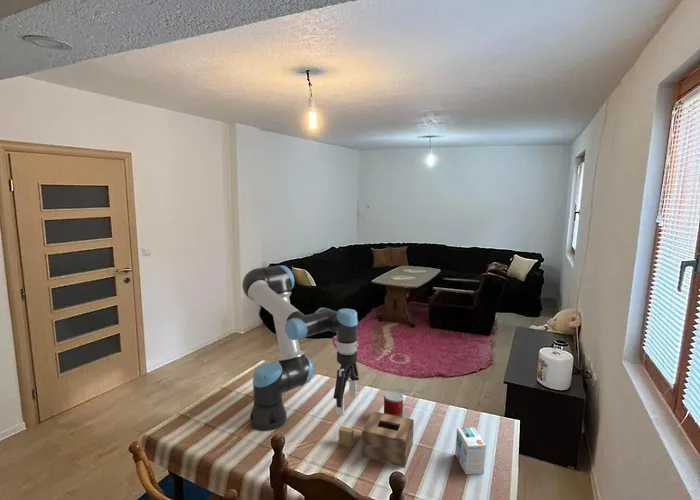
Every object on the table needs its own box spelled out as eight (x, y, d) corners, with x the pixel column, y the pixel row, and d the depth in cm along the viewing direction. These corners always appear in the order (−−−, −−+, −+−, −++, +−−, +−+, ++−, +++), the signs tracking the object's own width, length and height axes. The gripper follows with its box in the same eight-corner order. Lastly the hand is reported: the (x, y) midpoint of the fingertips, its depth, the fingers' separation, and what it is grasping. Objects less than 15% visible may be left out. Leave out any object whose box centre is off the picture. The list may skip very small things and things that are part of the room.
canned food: (401, 426, 161) (402, 401, 160) (382, 424, 163) (383, 399, 161) (403, 416, 169) (403, 392, 167) (384, 414, 170) (385, 390, 169)
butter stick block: (338, 444, 149) (338, 429, 149) (341, 440, 152) (341, 426, 151) (351, 447, 148) (351, 432, 147) (353, 443, 150) (353, 428, 149)
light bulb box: (454, 454, 144) (456, 427, 143) (472, 453, 145) (474, 426, 143) (465, 475, 134) (467, 446, 132) (484, 474, 134) (486, 445, 133)
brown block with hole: (361, 456, 142) (362, 431, 141) (372, 434, 155) (373, 411, 154) (405, 467, 137) (405, 441, 136) (412, 443, 150) (413, 419, 149)
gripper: (344, 366, 132) (344, 424, 135) (366, 340, 155) (366, 391, 158) (324, 362, 134) (324, 420, 137) (349, 338, 157) (348, 388, 160)
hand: (346, 405), depth 147 cm, fingers open, 13 cm apart
